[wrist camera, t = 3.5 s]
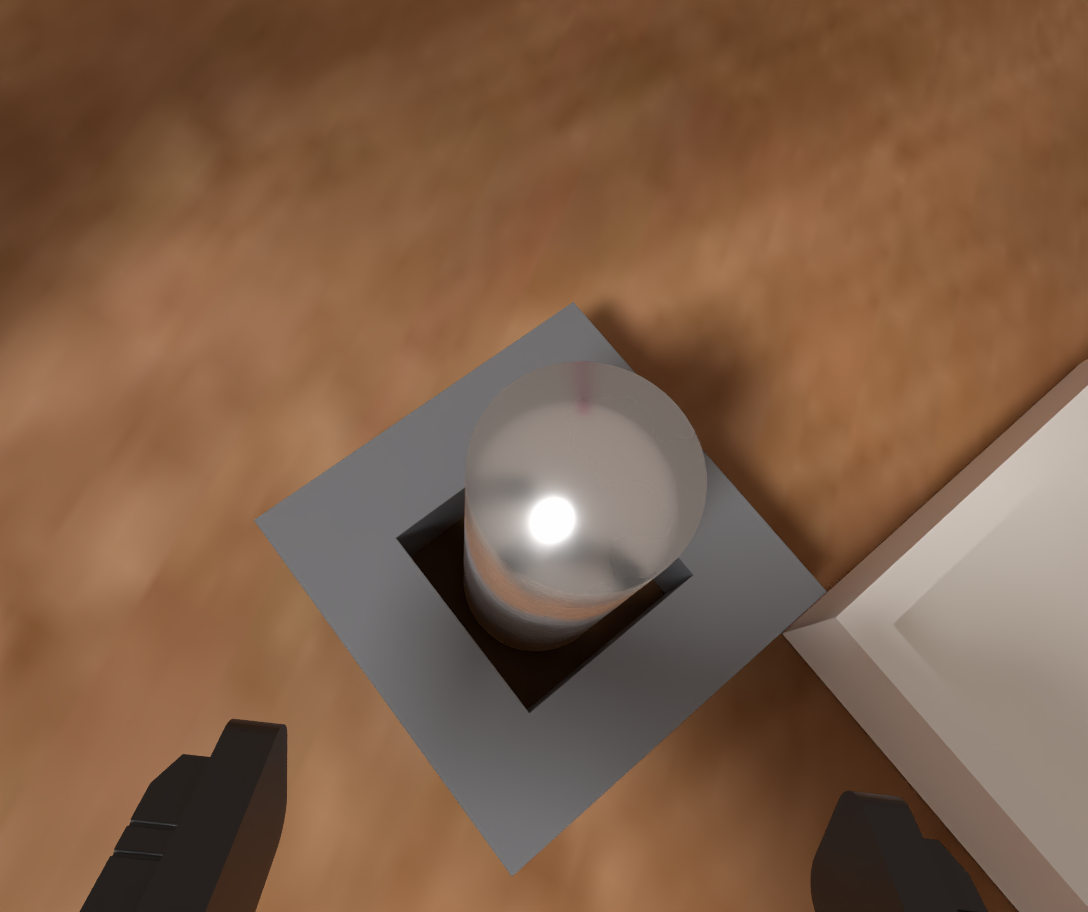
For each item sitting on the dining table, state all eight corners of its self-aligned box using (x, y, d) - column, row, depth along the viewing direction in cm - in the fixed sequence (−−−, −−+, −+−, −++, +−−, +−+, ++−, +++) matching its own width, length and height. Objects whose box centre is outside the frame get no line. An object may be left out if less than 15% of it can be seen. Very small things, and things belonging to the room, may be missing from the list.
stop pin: (434, 565, 23) (415, 449, 13) (546, 481, 24) (602, 319, 14) (523, 682, 22) (571, 646, 13) (635, 590, 23) (755, 494, 14)
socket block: (279, 546, 22) (253, 519, 20) (560, 350, 25) (573, 302, 22) (504, 856, 21) (512, 876, 18) (782, 608, 23) (826, 591, 20)
